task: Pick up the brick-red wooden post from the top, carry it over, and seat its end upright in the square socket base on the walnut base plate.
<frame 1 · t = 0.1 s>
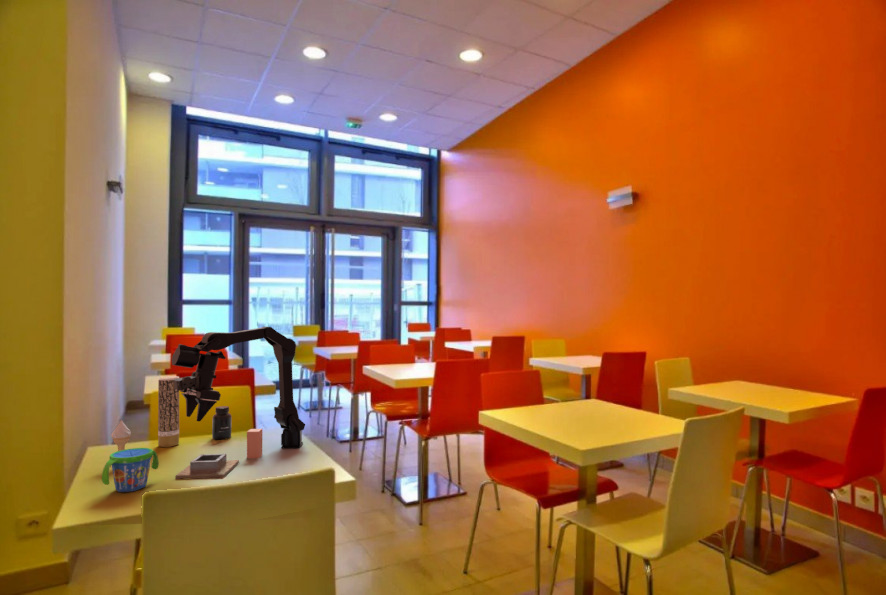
hand: (193, 418, 163), 15 cm above the table, tool pointing down, fingers open, 9 cm apart
ice cream cone: (121, 466, 164), on the table
paper tube: (168, 445, 188), on the table
snack cup: (131, 489, 144), on the table
red post: (254, 456, 174), on the table
square socket base: (208, 470, 159), on the table
supplement bottle: (221, 438, 198), on the table
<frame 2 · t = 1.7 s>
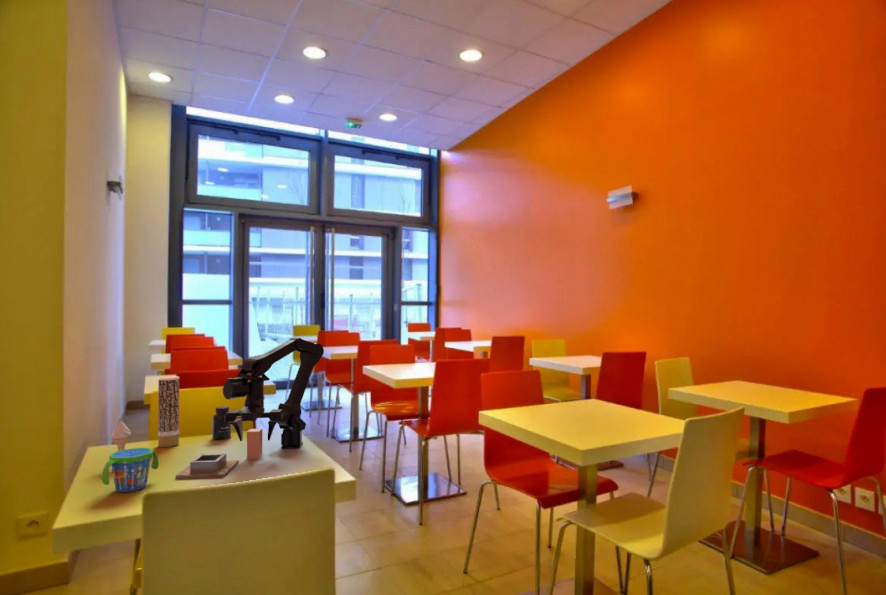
hand: (255, 440, 174), 5 cm above the table, tool pointing down, fingers open, 9 cm apart
nothing on the table moved.
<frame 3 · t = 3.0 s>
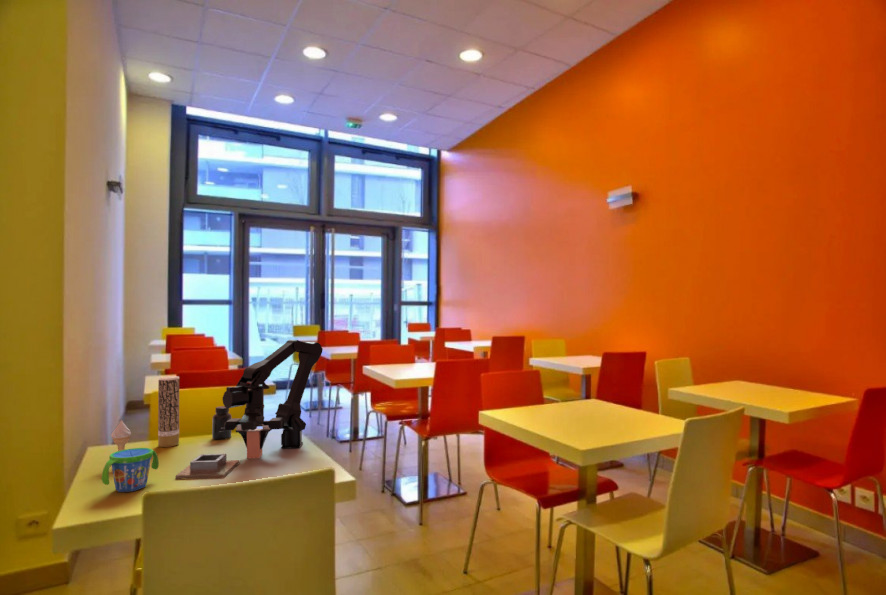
hand: (254, 449, 174), 3 cm above the table, tool pointing down, fingers closed on red post, 4 cm apart
red post: (254, 456, 174), on the table, touching gripper
everything else where it was.
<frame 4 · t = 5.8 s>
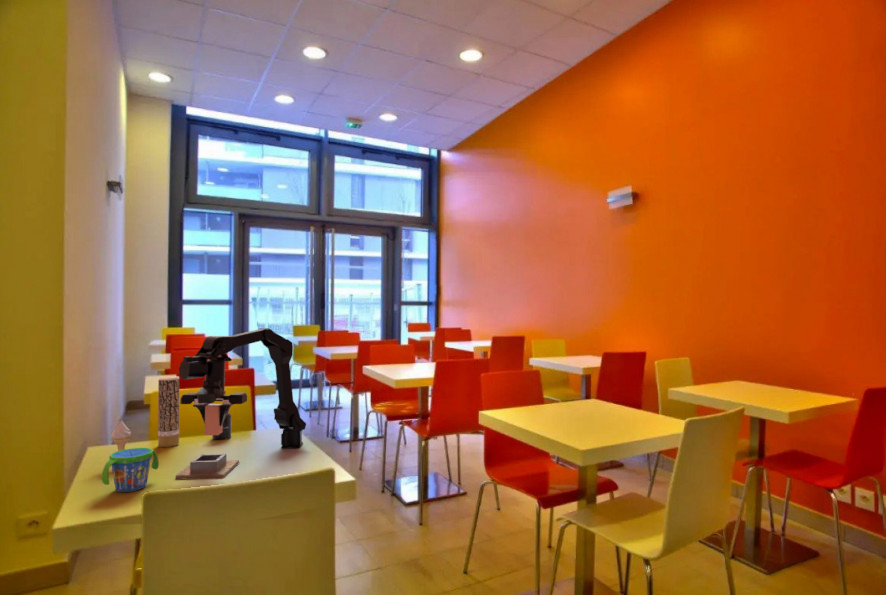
hand: (213, 425, 161), 14 cm above the table, tool pointing down, fingers closed on red post, 4 cm apart
red post: (213, 433, 161), point 11 cm above the table, touching gripper
everything else where it was.
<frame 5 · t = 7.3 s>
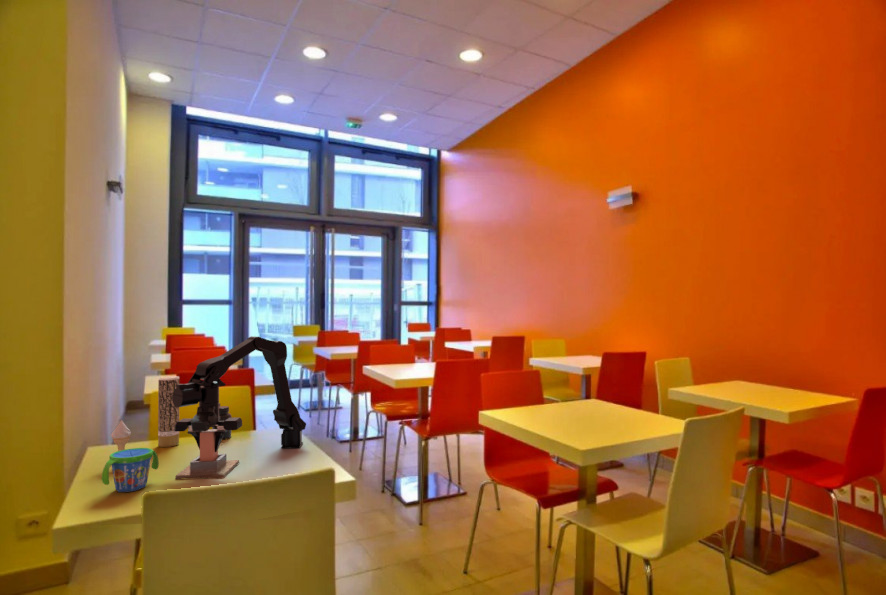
hand: (209, 451, 159), 6 cm above the table, tool pointing down, fingers closed on red post, 4 cm apart
red post: (209, 459, 159), point 3 cm above the table, touching gripper
everything else where it was.
when the fingers open (5 cm above the table, at t = 8.5 s): red post drops 1 cm, resting on square socket base.
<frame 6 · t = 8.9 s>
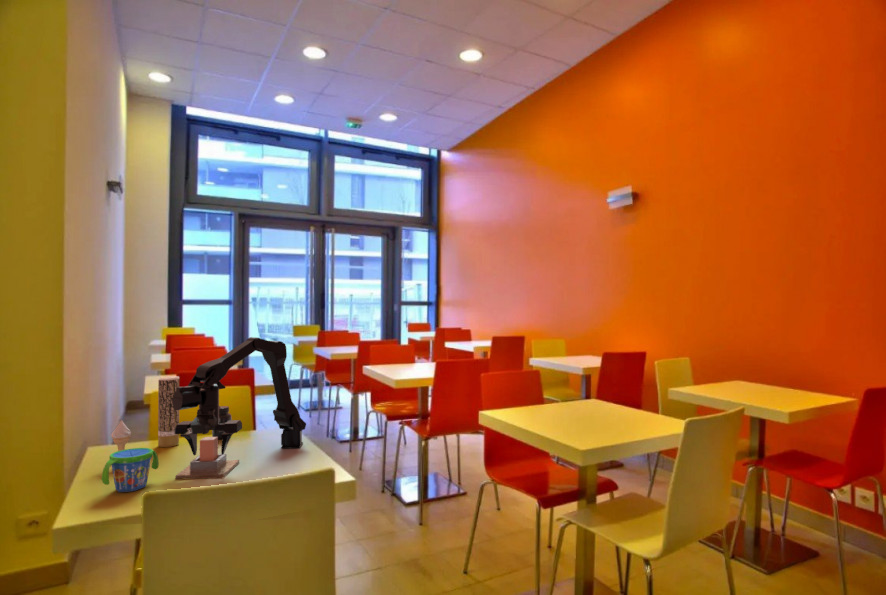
hand: (208, 454, 159), 5 cm above the table, tool pointing down, fingers open, 8 cm apart
red post: (208, 467, 159), point 1 cm above the table, touching square socket base
everything else where it was.
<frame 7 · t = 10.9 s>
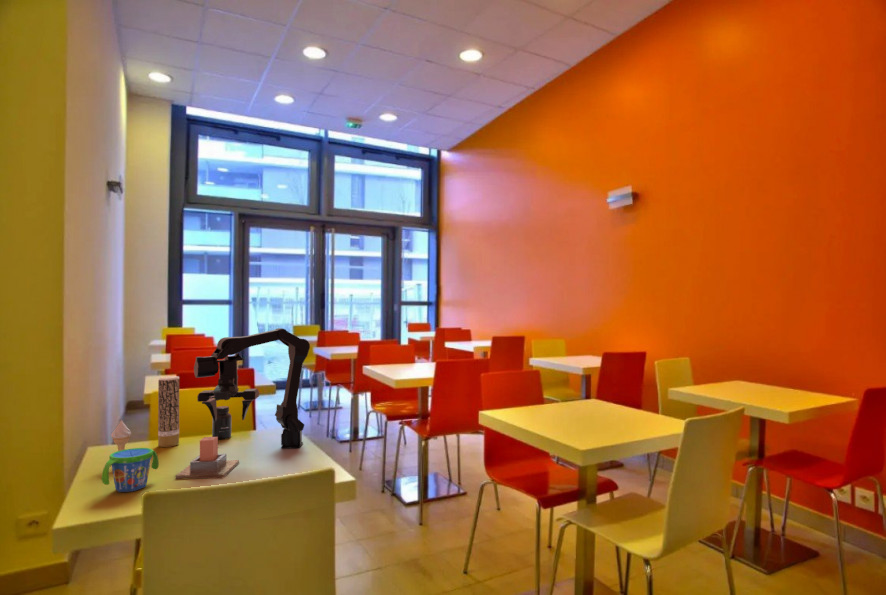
hand: (229, 420, 173), 13 cm above the table, tool pointing down, fingers open, 9 cm apart
nothing on the table moved.
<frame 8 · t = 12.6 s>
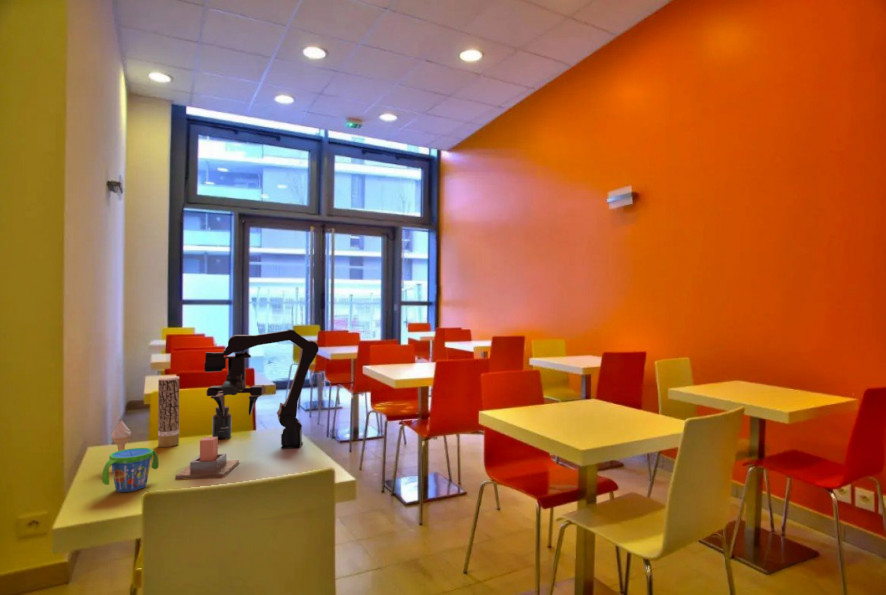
hand: (236, 415, 179), 13 cm above the table, tool pointing down, fingers open, 9 cm apart
nothing on the table moved.
at the end: red post 0.0 cm off-centre on the square socket base, point 1.0 cm above the square socket base's base; red post tilted 0°; the gripper is holding nothing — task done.
